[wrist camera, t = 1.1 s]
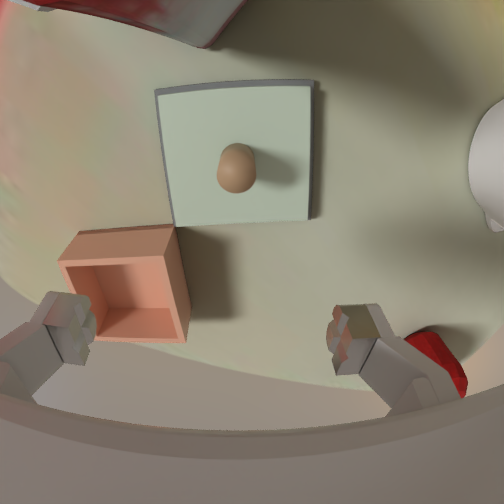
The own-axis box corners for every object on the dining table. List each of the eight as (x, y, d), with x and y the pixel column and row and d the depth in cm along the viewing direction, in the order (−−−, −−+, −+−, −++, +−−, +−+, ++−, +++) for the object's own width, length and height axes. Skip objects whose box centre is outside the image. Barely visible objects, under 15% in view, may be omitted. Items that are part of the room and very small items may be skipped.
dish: (175, 223, 30) (163, 255, 26) (191, 307, 36) (186, 342, 32) (79, 231, 30) (57, 260, 26) (107, 307, 36) (94, 340, 32)
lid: (308, 85, 23) (322, 90, 19) (305, 215, 30) (316, 243, 25) (160, 94, 23) (142, 101, 19) (178, 221, 30) (167, 250, 25)
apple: (413, 310, 38) (453, 392, 27) (451, 326, 41) (487, 395, 30) (366, 358, 43) (389, 437, 32) (408, 368, 46) (433, 436, 35)
